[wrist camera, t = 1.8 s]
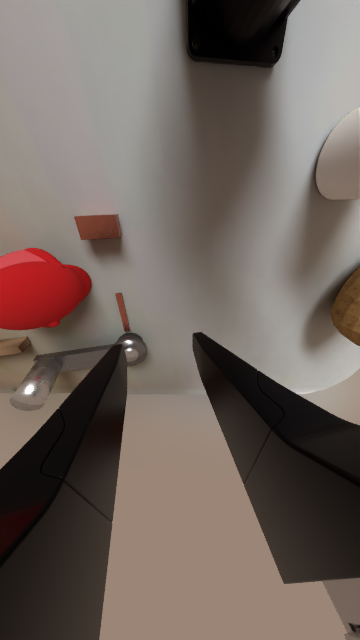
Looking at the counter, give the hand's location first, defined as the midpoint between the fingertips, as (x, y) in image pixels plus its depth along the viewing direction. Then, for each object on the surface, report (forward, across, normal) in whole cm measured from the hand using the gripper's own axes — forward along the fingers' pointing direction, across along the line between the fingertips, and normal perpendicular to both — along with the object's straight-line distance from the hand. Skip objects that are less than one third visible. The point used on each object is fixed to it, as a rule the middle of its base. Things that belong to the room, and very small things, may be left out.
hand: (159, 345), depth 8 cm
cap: (+12, +10, 0) cm, 16 cm away
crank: (+11, +8, +9) cm, 16 cm away
